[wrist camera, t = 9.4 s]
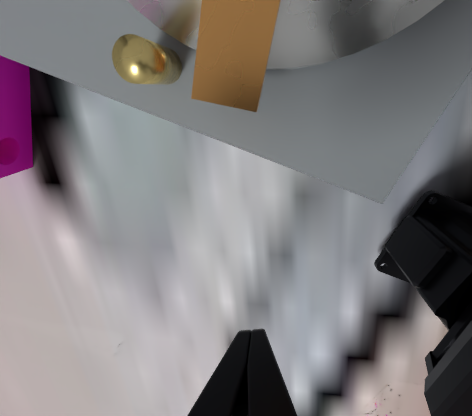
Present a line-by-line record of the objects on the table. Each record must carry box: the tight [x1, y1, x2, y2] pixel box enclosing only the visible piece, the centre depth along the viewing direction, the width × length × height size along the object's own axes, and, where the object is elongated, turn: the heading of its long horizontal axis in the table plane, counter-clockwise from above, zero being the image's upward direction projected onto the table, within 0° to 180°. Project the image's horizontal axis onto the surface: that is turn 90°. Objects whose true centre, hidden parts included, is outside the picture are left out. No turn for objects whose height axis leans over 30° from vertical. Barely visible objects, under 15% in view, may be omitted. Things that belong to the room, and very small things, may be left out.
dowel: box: [112, 34, 182, 85], centre depth 11 cm, size 2×2×4 cm
